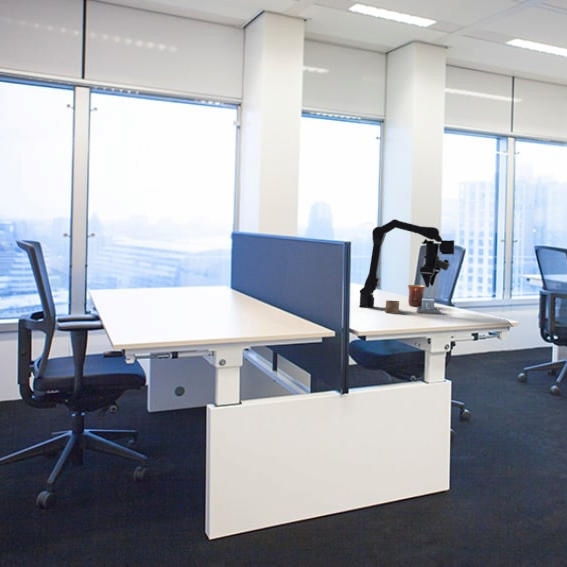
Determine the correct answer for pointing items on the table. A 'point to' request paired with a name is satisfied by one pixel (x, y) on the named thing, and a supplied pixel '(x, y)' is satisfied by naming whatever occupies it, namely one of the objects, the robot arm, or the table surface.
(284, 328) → the table surface
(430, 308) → the blue-gray cube
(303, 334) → the table surface
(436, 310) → the tray
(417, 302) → the mug
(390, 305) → the open wooden cubby box
